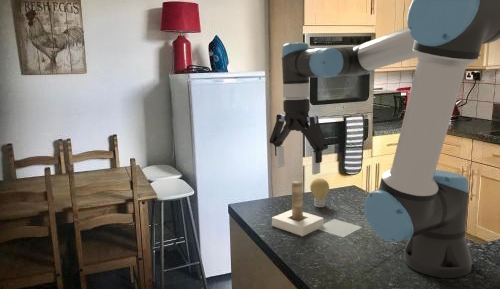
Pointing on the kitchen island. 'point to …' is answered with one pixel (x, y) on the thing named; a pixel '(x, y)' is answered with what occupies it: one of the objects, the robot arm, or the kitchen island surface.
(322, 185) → the light bulb
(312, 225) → the hole block
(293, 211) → the dowel
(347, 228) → the mat
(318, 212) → the kitchen island surface
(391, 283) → the kitchen island surface
